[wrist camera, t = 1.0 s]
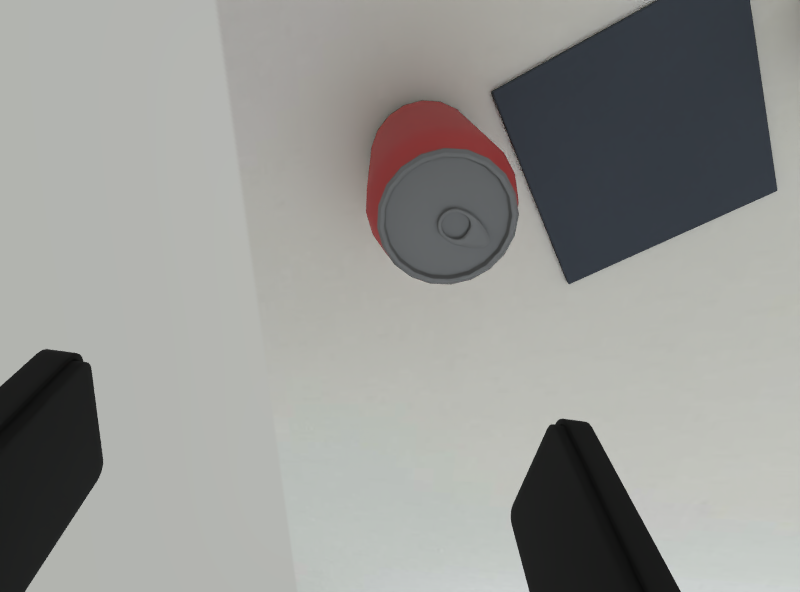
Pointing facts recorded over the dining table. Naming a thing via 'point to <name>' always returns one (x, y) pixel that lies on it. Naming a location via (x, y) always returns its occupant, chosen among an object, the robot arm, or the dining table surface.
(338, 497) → the dining table surface
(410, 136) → the beer can
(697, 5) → the mat
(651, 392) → the dining table surface
